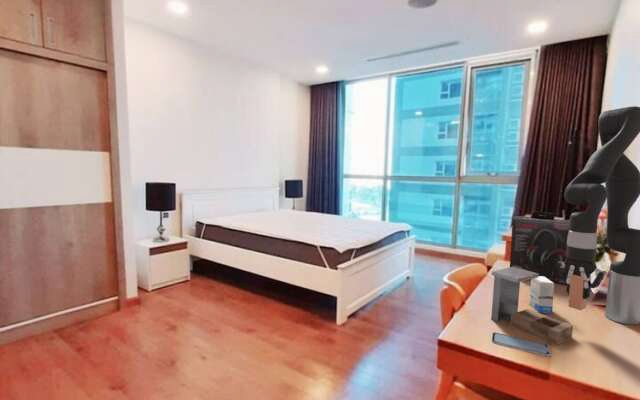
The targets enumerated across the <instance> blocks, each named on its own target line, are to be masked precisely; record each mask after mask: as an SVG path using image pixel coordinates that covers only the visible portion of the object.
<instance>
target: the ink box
mask: <svg viewBox="0 0 640 400" xmlns="http://www.w3.org/2000/svg"><path fill="white" fill-rule="evenodd" d="M554 288H555V283H553V282H551V281H550V280H549V279H547V278H546V277H543V276H539V277H537V278H533V279H530V291H529V292H530V293H529V303H528V304H529V305H530V306H532V307H533V308H534V310H536V312H537V313H541V314H543V313H544V314H545V313H546V314H553V307H554V306H553V304H554V291H555V289H554Z"/></svg>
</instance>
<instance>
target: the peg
mask: <svg viewBox="0 0 640 400" xmlns="http://www.w3.org/2000/svg"><path fill="white" fill-rule="evenodd" d="M583 278H584V277H581V276H579V275H574V274H573V275H572V274H571V276H570V290H569V295H568V308H571V309H575V310H579V311H582V310H585V309H586V307H587V299H583V288H584V281H583Z"/></svg>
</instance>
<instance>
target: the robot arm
mask: <svg viewBox="0 0 640 400" xmlns="http://www.w3.org/2000/svg"><path fill="white" fill-rule="evenodd" d="M597 121H598V122H597V124H598V125H597V127H598V133H599V134H598V135H599V139H600V144H601V145H600V146H601V147H599V148H598V149H597V150H595V151H594V153H593V154H591V155H590V157H589V159H588V160H587V162H586V163H585V166H584V168H583V169H582V171H581V172H579V174H578V175H577V176H576V177H574V179H572V180H571V181H570V182H569V183H568V185H567V186H566V187H565V190H564V193H563V194H564V195H563V196H564V200H565V201H566V202H567V203H568V204H571V205H577V206H587V209H585V211H575V212H572V213H571V214H570V216H569V220H570V222H569V233H568V238H567V252H566V260H565V261H564V262H557V263H555V265H556V268H557V271H558V274H559V277H560V279H561V280H564V281H565V282H566V283H567V285H566V289H565V290H566V293H567V294H568V296H569V290H570V276H571V274H572V275H573V274H574V275H579V276H581V277H584V278H583V281H584V288H583V299H586V300H588V299H589V298H590V297H591V294H592V293H591V292H592V289H595V288H598V287H599V286H600V285H601V283H602V281H603V280H604V278H605V277H606V276H607V274H608V273H607V271H606V270H601V269H600V268H598V266H597V265H596V259H597V249H598V248H597V246H598V245H597V244H598V233H597V232H598V223H599V222H598V221H599V220H598V219H599V217H600V214H601V211H602V210H603V207H604V205H605V203H606V206H607V207H606V208H607V210H606V212H607V213H606V214H607V215H606V216H607V217H606V221H607V222H606V242H607V245H608V248H610V249H611V250H612V251H614V252H618V253H622V254H625V255H624V259H623V260H621V261H612V262H611V263H610V265H609V275H608V282H607V284H608V285H607V292H606V301H605V302H606V304H605V309H604V310H605V311H604V316H605V317H606V318H608V319H609V320H612V321H615V322H618V323H621V324H625V325H632V326H633V325H639V324H640V229H637V228H633V227H632V228H631V227H630V226H629V213H630V210H631V209H632V207H633V206H634V204H635V203H636V202H637V201H638V198H639V197H640V170H639V168H638V167H637V166H636V165H635V164H634V163H633V161H631V159H630V158H629V157H628V156H627V155H626V154H625V151H626V150H627V149H628V148H629V147H630V146H631V144H632V143H633V142H634V140H635V139H636V138H637V137H638V136H639V134H640V106H638V105H637V106H636V105H635V106H627V107H622V108H621V107H620V108H615V109H609V110H605V111H603V112H601V113H600V115H599V116H598V120H597ZM603 184H605V186H604V185H603ZM565 265H566V267H567V268H568V270H569V273H568V275H567V274H566V271H565ZM594 272H595V273H594ZM593 273H594V275H595V279H594V280H593V281H592V276H591V275H592V274H593ZM567 276H568V277H567Z"/></svg>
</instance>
